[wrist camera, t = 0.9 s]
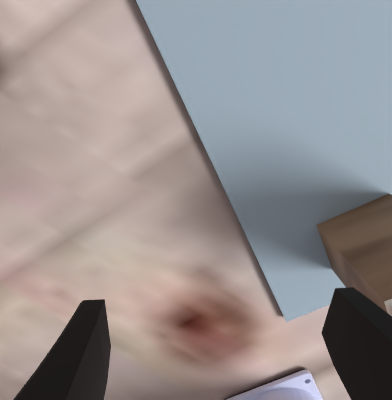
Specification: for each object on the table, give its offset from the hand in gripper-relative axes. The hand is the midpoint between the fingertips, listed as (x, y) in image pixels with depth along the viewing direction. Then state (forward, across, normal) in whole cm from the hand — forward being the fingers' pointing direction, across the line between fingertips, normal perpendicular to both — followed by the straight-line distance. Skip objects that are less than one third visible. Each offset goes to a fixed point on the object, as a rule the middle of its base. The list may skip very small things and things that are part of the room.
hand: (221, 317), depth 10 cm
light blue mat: (+11, -8, -2) cm, 14 cm away
